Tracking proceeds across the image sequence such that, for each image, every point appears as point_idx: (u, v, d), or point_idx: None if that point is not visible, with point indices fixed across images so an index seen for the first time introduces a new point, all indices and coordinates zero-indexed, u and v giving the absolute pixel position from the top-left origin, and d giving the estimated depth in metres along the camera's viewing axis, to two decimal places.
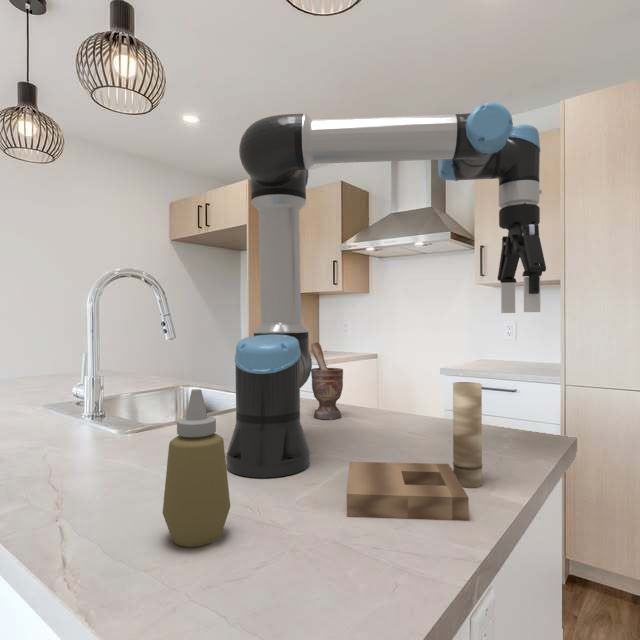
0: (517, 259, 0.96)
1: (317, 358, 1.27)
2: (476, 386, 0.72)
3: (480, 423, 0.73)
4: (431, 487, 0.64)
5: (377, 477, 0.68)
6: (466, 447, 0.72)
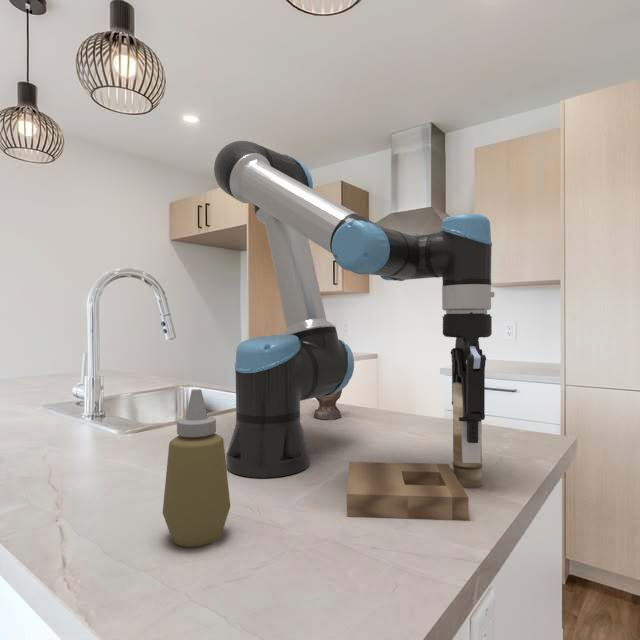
0: None
1: None
2: None
3: (480, 423, 0.73)
4: (431, 487, 0.64)
5: (377, 477, 0.68)
6: None
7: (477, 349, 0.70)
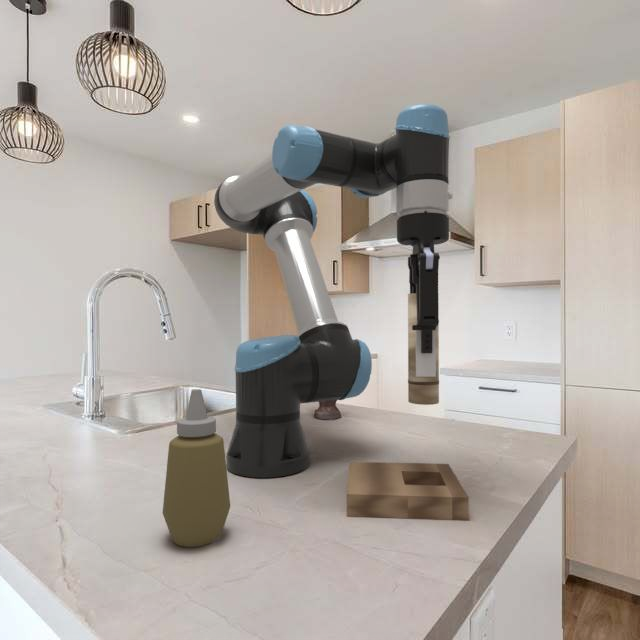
0: None
1: None
2: None
3: (436, 335, 0.66)
4: (431, 487, 0.64)
5: (377, 477, 0.68)
6: None
7: (431, 250, 0.64)
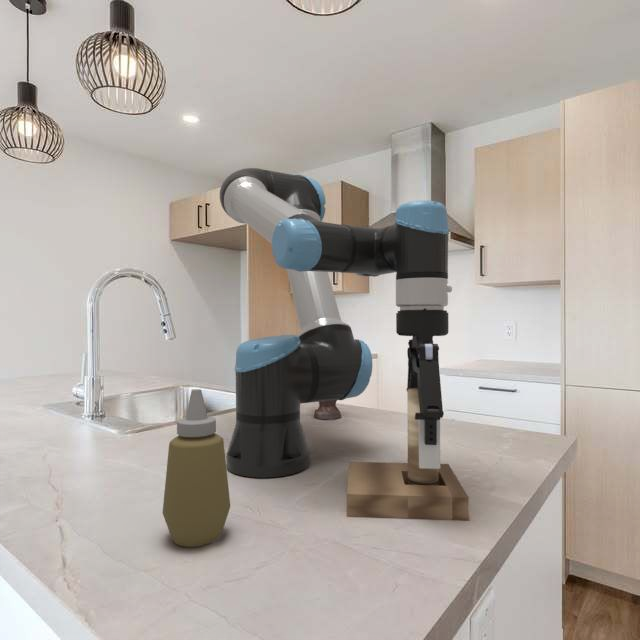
0: None
1: None
2: None
3: None
4: (431, 487, 0.64)
5: (377, 477, 0.68)
6: None
7: None
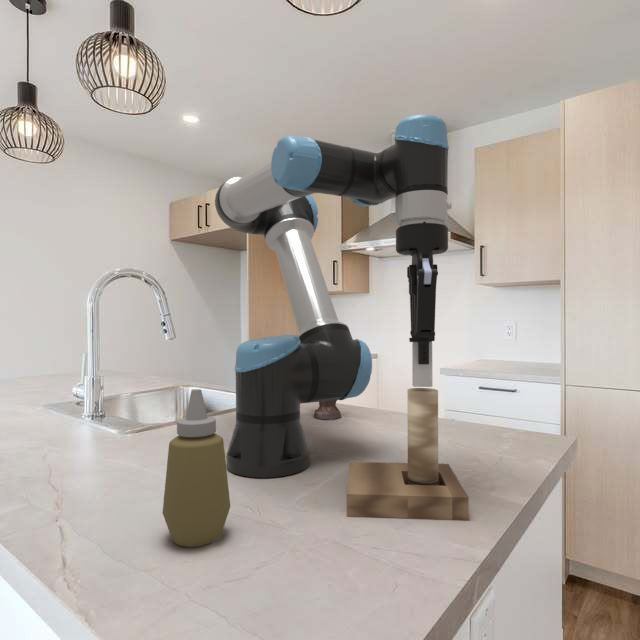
0: None
1: None
2: (431, 393, 0.66)
3: (436, 433, 0.66)
4: (431, 487, 0.64)
5: (377, 477, 0.68)
6: (420, 460, 0.66)
7: (430, 262, 0.63)
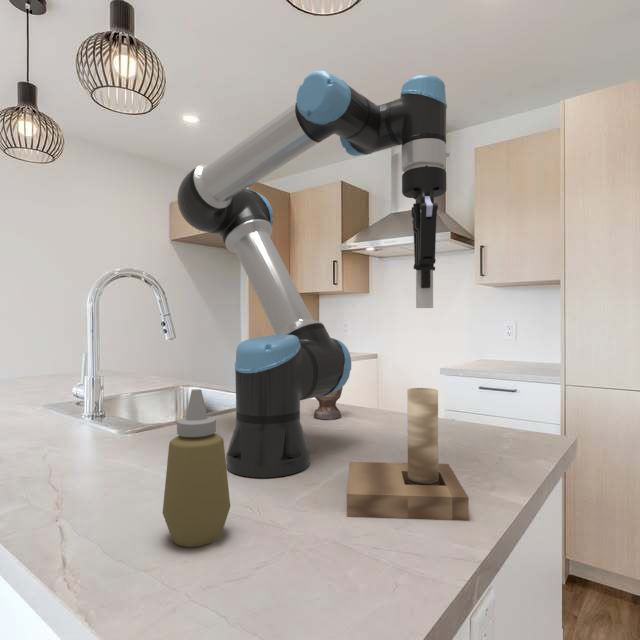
0: None
1: None
2: (431, 393, 0.66)
3: (436, 433, 0.66)
4: (431, 487, 0.64)
5: (377, 477, 0.68)
6: (420, 460, 0.66)
7: (431, 199, 0.75)
